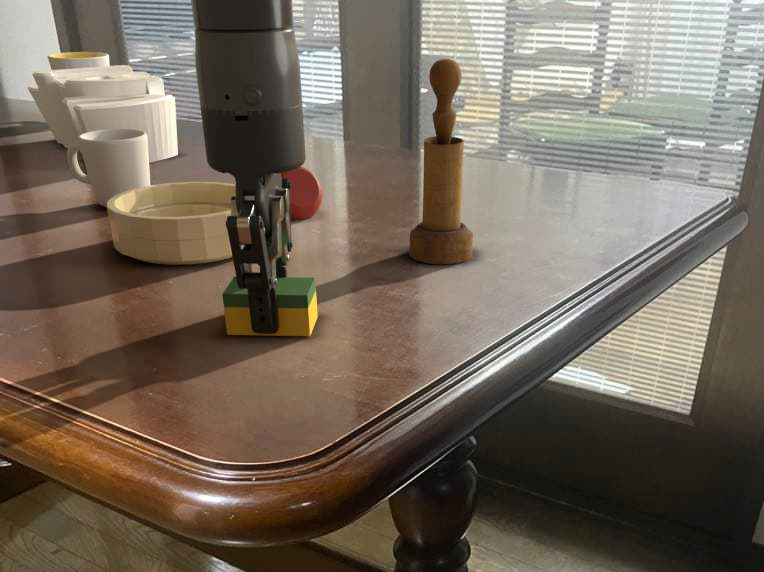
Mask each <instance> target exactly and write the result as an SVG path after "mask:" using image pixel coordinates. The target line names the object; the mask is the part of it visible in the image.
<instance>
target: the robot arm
mask: <svg viewBox="0 0 764 572" xmlns="http://www.w3.org/2000/svg"><path fill="white" fill-rule="evenodd" d="M190 2H191V3H190V4H191V13H192V20H193V27H194V28H195V29H194V46H195V47H194V57H195V58H194V63H195V75H196V82H197V83H196V84H197V92H198V98H199V107H200V115H201V122H202V123H201V124H202V131H203V132H202V133H203V139H204V140H203V141H204V148H205V155H206V156H205V157H206V163H207V164H208V166H209V167H210V168H211V169H212V170H213V171H214V172H215V171H216V172H218V173H221V174H229V175H231V176H232V177H233V178H234V180H235V191H236V196H231V216H227V221H226V228H227V231H228V236H229V241H230V247H231V252H232V257H231V258H232V261H233V267H234V271H235V276H236V278H237V284H238V287H239V289H247V290H248V299H249V309H250V318H251V327H252V330H253V332H255V333H257V334H275V333H276V332H277V331H278V329H279V315H278V303H277V291H276V285H277V278H276V277H289V276H288V268H287V267H289V264H290V261H291V256H290V254H289V253H291V252H292V249H293V245H294V244H293V241H292V219H291V206H290V189H291V182H290V181H289V178H281V174H280V173H285V172H289V171H292V170H295V169H297V168H299V167H303V165H304V164H305V162H306V158H307V157H306V154H307V153H306V142H305V126H304V125H305V123H304V110H303V109H304V108H303V93H302V78H301V64H300V57H299V52H298V51H299V50H298V46H297V41H296V33H295V28H294V26H295V24H294V7H293V0H190ZM252 264H253V265H254V264H255V265H258V266H259V271H255V272H254V271H253V268H252V267H253V266H252Z"/></svg>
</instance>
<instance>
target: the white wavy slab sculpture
mask: <svg viewBox="0 0 764 572" xmlns="http://www.w3.org/2000/svg"><path fill="white" fill-rule="evenodd" d="M31 75H32V78H33V80H34V81H35V83H33V84H30V85H29V86H28V87H27V90H28V92H29V94H30V95H31V97H32V99H33V101H34V102H35V105H36V106H37V109H38V110H39V112H40V114H41V115H42V117H43V119H44V121H45V122H46V124H47V126H48V127H49V130H50V131H51V133H52V136H53V137H54V139H55V141H56V142H57V143H58V144H61V145H63V147H64V148H66V149H68V148H69V147H70V146H71V145H72V144H74V143H77V142H78V137H79V136H80V135H81V134H84V133H87V132H91V131H97V130H107V129H134V130H140V131H143V132H145V133H146V134H147V138H148V154H149V163H155V162H158V161H162V160H166V159H169V158H173V157H176V156H178V155H179V148H178V128H177V110H176V109H177V108H176V107H177V106H176V96H173V94H167V93H166V94H165V84H164V78H162V77H161V76H158V75H153V76H151V75H150V74H149V73H148V72H146V71H133V68H132V67H131V66H130V65H127V64H120V65H110V66H103V67H89V68H75V69H61V70H51V69H49V70H48V69H47V70H37V71H33V73H31Z"/></svg>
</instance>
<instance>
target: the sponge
mask: <svg viewBox="0 0 764 572" xmlns="http://www.w3.org/2000/svg"><path fill="white" fill-rule="evenodd" d="M276 278H277V285H276V291H277V303H278V315H279V329H278V331H277V332H276V333H275V334H257V333H255V332H253V330H252V327H251V318H250V309H249V299H248V290H247V289H239V287H238V284H237V278H236V275H234V276H233V277H232V279H231V280H230V282H229V284H228V285H227V286H226V288H225V289H224V290H223V292H222V296H221V297H222V302H223V303H222V305H223V313H224V319H225V328H226V335H228V336H266V337H267V336H270V337H271V336H272V337H273V336H274V337H276V336H277V337H279V336H280V337H311V335H312V332H313V330H314V328H315V325H316V322H317V320H318V318H319V317H318V316H319V315H318V301H317V300H318V299H317V285H316V284H317V282H316V277H297V276H296V277H293V276H291V277H289V276H288V277H276Z"/></svg>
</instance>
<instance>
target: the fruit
mask: <svg viewBox="0 0 764 572" xmlns="http://www.w3.org/2000/svg"><path fill="white" fill-rule="evenodd" d="M280 174H281V178H289V181H290V182H291V189H290V206H291V220H306V219H307V220H308V219H310V218H312V217H315V215H316V214H317V213H318V211H319V209H320V207H321V205H322V201H323V189H322V185H321V182H320V181H319V179H318V177H317V176H316V175H315V173H313V172H312V171H311V170H310V169H308V168H306V167H304V166H301V167H299V168H297V169H295V170H292V171H289V172H285V173H280Z"/></svg>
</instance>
